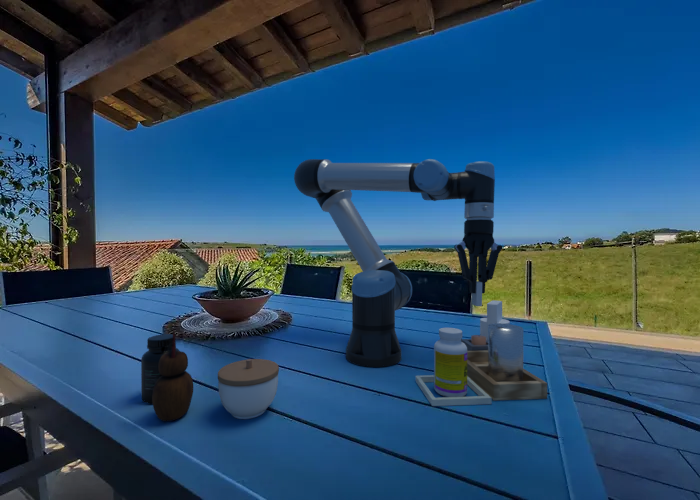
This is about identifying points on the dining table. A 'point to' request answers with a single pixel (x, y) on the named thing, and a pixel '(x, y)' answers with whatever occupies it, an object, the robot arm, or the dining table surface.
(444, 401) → the rectangular frame
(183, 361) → the wooden figurine
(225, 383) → the lidded jar
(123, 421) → the dining table surface
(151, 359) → the supplement bottle
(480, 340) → the pink block
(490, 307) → the cylinder with rectangular tab
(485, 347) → the gray open box
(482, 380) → the wooden tray
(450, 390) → the supplement bottle
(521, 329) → the billet
